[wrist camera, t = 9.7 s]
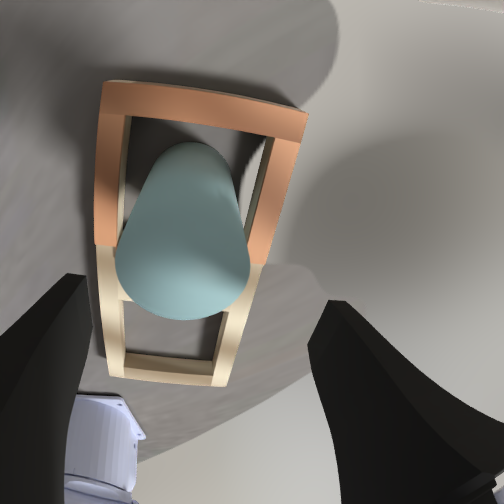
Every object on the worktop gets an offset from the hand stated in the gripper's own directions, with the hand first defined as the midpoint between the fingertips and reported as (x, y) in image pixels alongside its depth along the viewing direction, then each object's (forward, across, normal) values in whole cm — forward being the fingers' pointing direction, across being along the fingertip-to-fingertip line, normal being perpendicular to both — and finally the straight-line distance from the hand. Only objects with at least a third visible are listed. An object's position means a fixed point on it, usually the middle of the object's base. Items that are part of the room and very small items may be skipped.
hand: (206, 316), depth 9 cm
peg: (+10, +1, 0) cm, 10 cm away
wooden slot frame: (+10, +1, +5) cm, 11 cm away
